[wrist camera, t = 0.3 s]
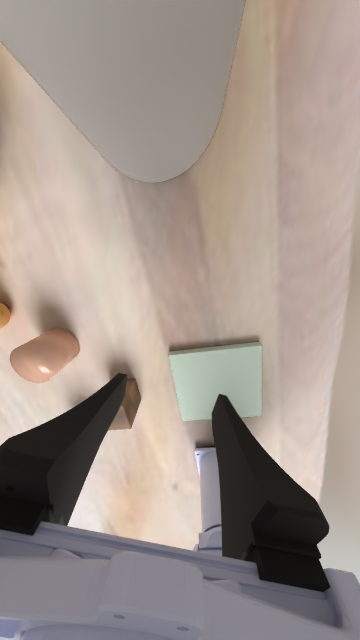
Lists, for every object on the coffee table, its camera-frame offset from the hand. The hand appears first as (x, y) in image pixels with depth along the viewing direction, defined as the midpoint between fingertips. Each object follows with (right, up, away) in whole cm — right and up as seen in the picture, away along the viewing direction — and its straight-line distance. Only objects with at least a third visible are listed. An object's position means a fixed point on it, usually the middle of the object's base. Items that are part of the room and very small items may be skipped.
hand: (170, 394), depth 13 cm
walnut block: (-8, -5, +13) cm, 16 cm away
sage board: (+6, -3, +12) cm, 14 cm away
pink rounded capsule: (-16, +2, +11) cm, 20 cm away
